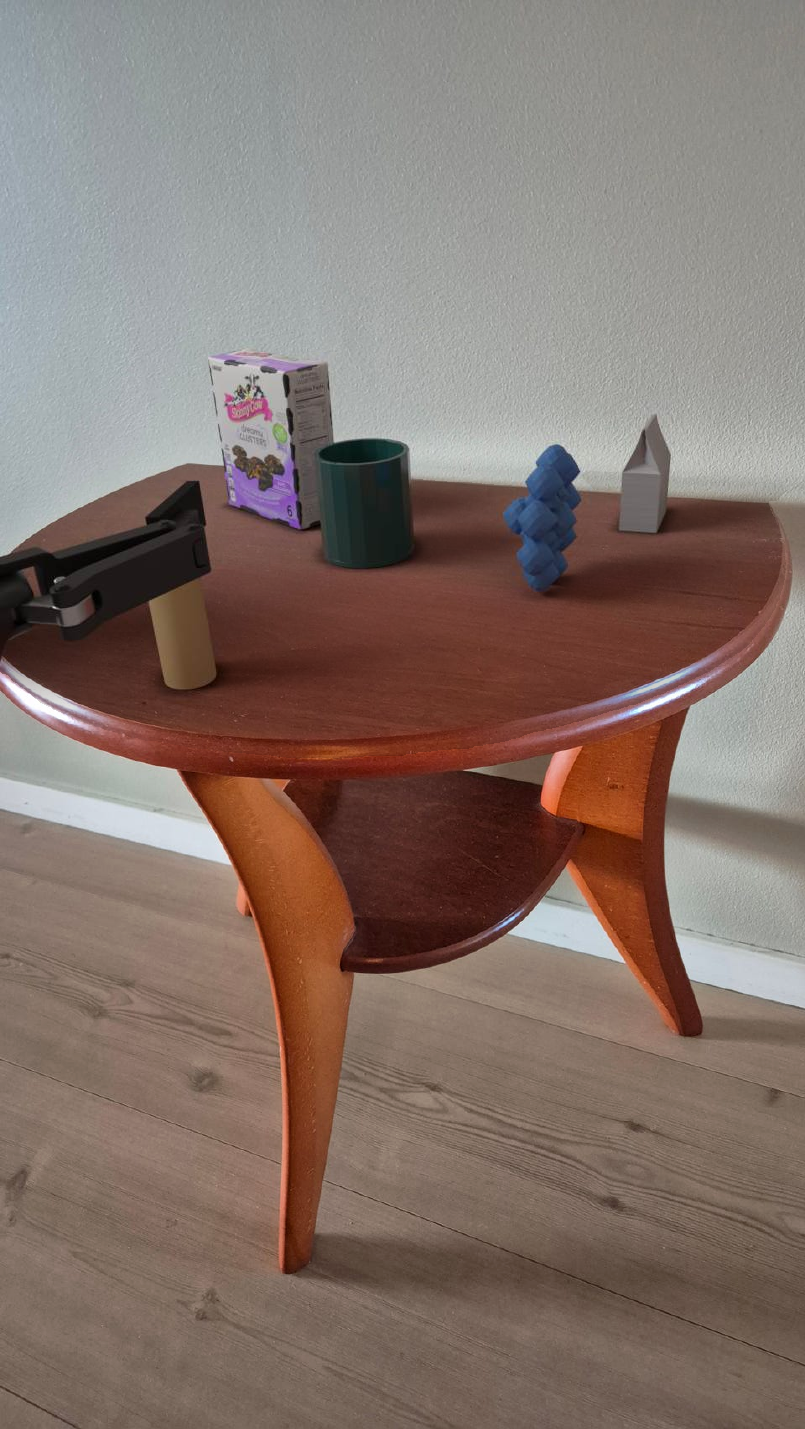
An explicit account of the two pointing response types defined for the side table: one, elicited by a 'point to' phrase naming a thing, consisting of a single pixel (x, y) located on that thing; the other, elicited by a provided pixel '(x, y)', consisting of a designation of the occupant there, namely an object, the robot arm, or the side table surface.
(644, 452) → the grey milk carton
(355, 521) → the dark green cup
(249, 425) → the candy box
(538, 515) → the grapes
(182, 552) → the robot arm
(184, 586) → the tan cylinder
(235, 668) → the side table surface
